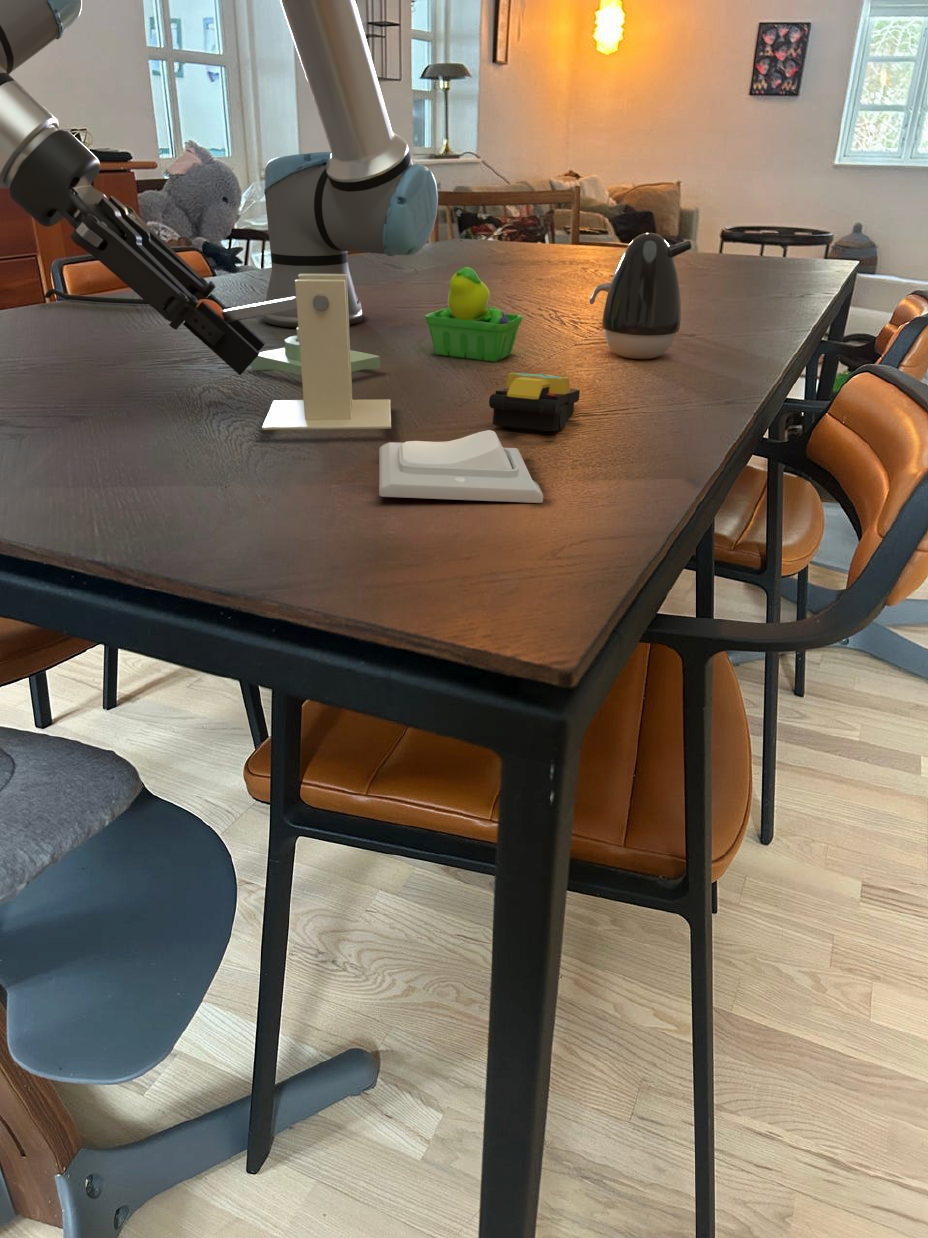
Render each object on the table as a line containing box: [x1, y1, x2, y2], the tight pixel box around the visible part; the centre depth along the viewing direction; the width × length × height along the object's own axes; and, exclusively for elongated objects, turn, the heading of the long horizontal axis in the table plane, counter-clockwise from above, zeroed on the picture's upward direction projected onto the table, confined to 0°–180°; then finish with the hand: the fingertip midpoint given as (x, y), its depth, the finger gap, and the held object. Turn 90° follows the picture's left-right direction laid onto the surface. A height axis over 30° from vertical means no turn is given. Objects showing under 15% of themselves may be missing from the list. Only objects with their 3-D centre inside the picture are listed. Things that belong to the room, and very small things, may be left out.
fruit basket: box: [424, 266, 524, 363], centre depth 114 cm, size 11×9×11 cm
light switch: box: [378, 429, 544, 504], centre depth 72 cm, size 11×4×13 cm
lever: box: [195, 296, 297, 338], centre depth 81 cm, size 14×4×4 cm, turn 95°
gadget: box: [488, 372, 581, 434], centre depth 85 cm, size 6×13×6 cm, turn 161°
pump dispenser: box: [601, 232, 693, 360], centre depth 115 cm, size 10×10×15 cm
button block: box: [251, 335, 381, 377], centre depth 106 cm, size 12×10×4 cm
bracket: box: [261, 274, 392, 431], centre depth 84 cm, size 12×10×14 cm
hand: (252, 358), depth 83 cm, fingers closed on lever, 4 cm apart
